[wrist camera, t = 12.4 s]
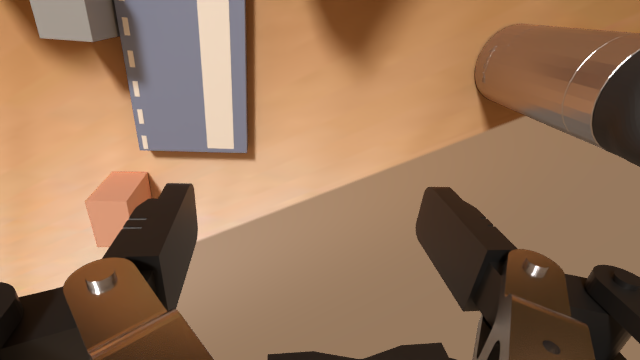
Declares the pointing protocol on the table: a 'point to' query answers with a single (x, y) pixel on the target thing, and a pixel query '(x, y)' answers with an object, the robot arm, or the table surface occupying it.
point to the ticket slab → (186, 73)
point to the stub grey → (76, 19)
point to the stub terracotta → (116, 203)
